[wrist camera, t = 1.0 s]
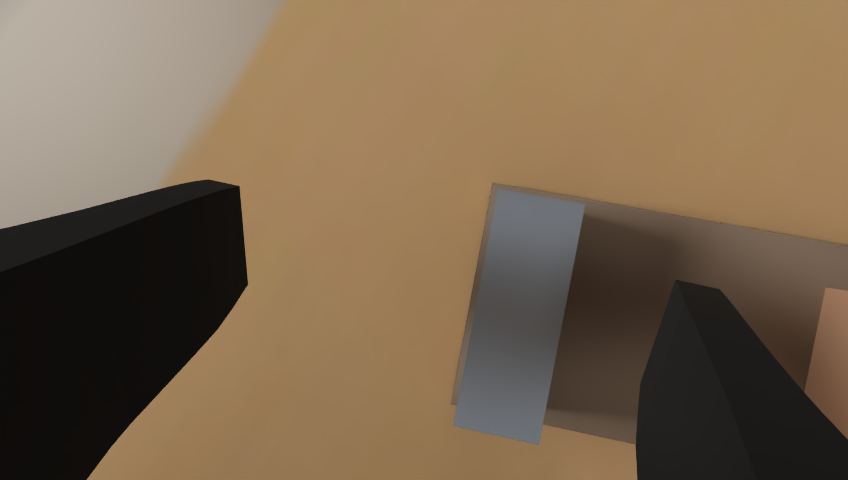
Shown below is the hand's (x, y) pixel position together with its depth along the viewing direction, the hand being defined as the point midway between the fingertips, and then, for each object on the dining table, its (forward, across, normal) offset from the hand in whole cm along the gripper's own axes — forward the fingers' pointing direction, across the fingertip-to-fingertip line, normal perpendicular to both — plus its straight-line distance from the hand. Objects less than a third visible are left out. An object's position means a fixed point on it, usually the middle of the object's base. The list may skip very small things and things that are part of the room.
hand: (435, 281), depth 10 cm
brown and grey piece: (+12, -8, +8) cm, 16 cm away
